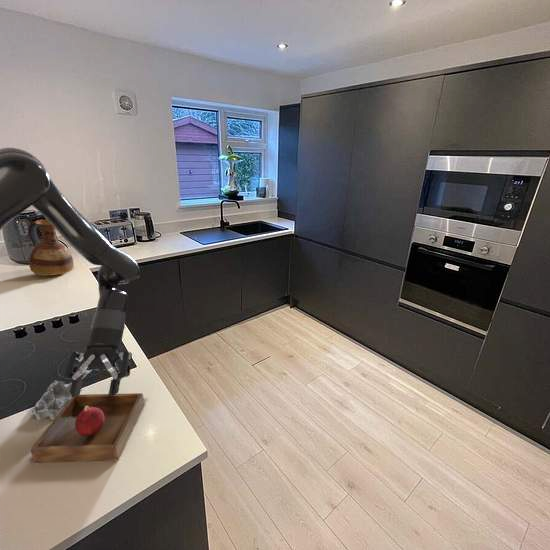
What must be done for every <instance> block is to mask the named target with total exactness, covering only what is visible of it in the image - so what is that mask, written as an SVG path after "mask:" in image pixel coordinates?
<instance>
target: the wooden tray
mask: <svg viewBox="0 0 550 550" xmlns="http://www.w3.org/2000/svg"><path fill="white" fill-rule="evenodd" d="M144 399H145V398H144V394H143V393H142V392H141V393H140V392H139V393H116V395H115V396H109V393H100V394H99V393H93V394H92V393H91V394H90V393H89V394H87V393H86V394H80V395H79V397H72V398H71V399H70V400H69V402H68V403H67V404H66V405H65V407H64V408H63V409H62V410H61V412H60V413H59V414H58V416H57V417H56V418H55V419H54V420H52V422H51V423H50V425H48V426H47V428H46V430H44V432H43V433H42V434H41V436H40V437H39V438H38V439H37V441H36V442H35V443H34V445H33V446H32V447H31V448H30V450H29V451H30V454H31V456H32V459H33V461H34V463H35V464H42V463H46V464H47V463H70V462H71V463H75V462H101V461H102V462H103V461H106V462H107V461H119V460H120V458H121V456H122V454H123V452H124V449H125V448H126V446H127V443H128V441H129V439H130V437H131V434H132V432H133V431H134V429H135V426H136V425H137V422H138V420H139V418H140V416H141V414H142V412H143V409H144V407H145V404H146V403H145V400H144ZM85 406H89V407H96V408H99V409H100V410H101V411H102V412H103V414H104V418H105V419H104V424H103V426H102V428H101V429H100V430H99V431H98V432H97V433H95V434H93V435H91V436H83V435H81V434H79V433H78V432H77V430H76V428H75V421H76V419H77V417H78V415H79V414H80V413H81V412H82V411H83V410H84V408H85Z"/></svg>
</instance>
